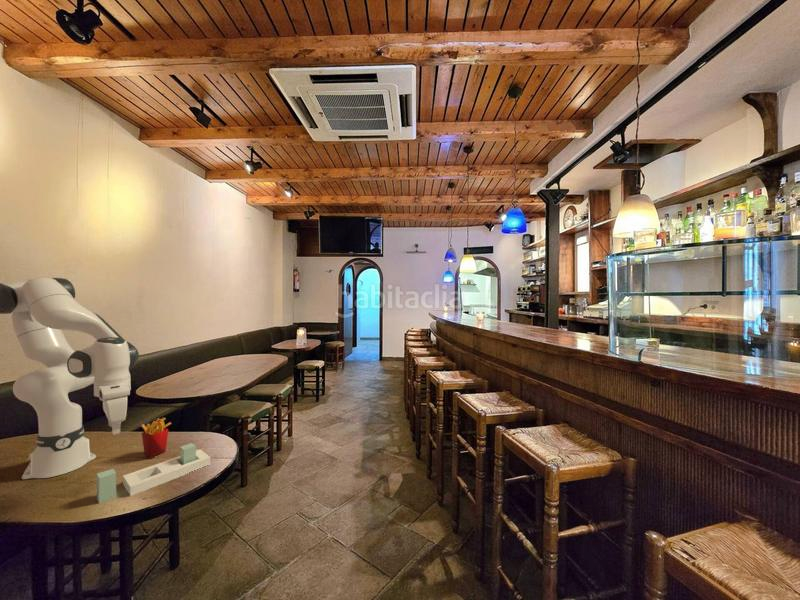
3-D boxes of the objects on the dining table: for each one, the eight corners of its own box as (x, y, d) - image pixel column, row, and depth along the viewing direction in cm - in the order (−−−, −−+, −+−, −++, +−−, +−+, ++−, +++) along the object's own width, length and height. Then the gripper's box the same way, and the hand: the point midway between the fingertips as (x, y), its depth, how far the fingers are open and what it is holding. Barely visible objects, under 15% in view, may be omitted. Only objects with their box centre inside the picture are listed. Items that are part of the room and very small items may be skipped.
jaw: (96, 498, 100) (96, 473, 100) (113, 492, 103) (113, 468, 103) (99, 503, 98) (99, 478, 98) (116, 497, 101) (116, 472, 101)
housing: (122, 484, 108) (122, 461, 108) (200, 456, 127) (200, 437, 127) (130, 496, 102) (130, 471, 101) (210, 464, 121) (210, 444, 120)
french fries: (140, 456, 126) (140, 420, 125) (162, 447, 133) (162, 413, 133) (154, 461, 122) (154, 423, 122) (176, 451, 130) (176, 416, 130)
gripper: (96, 384, 106) (97, 424, 106) (102, 396, 92) (104, 442, 92) (121, 380, 110) (122, 418, 110) (130, 390, 97) (132, 434, 97)
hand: (114, 429), depth 101 cm, fingers open, 8 cm apart
